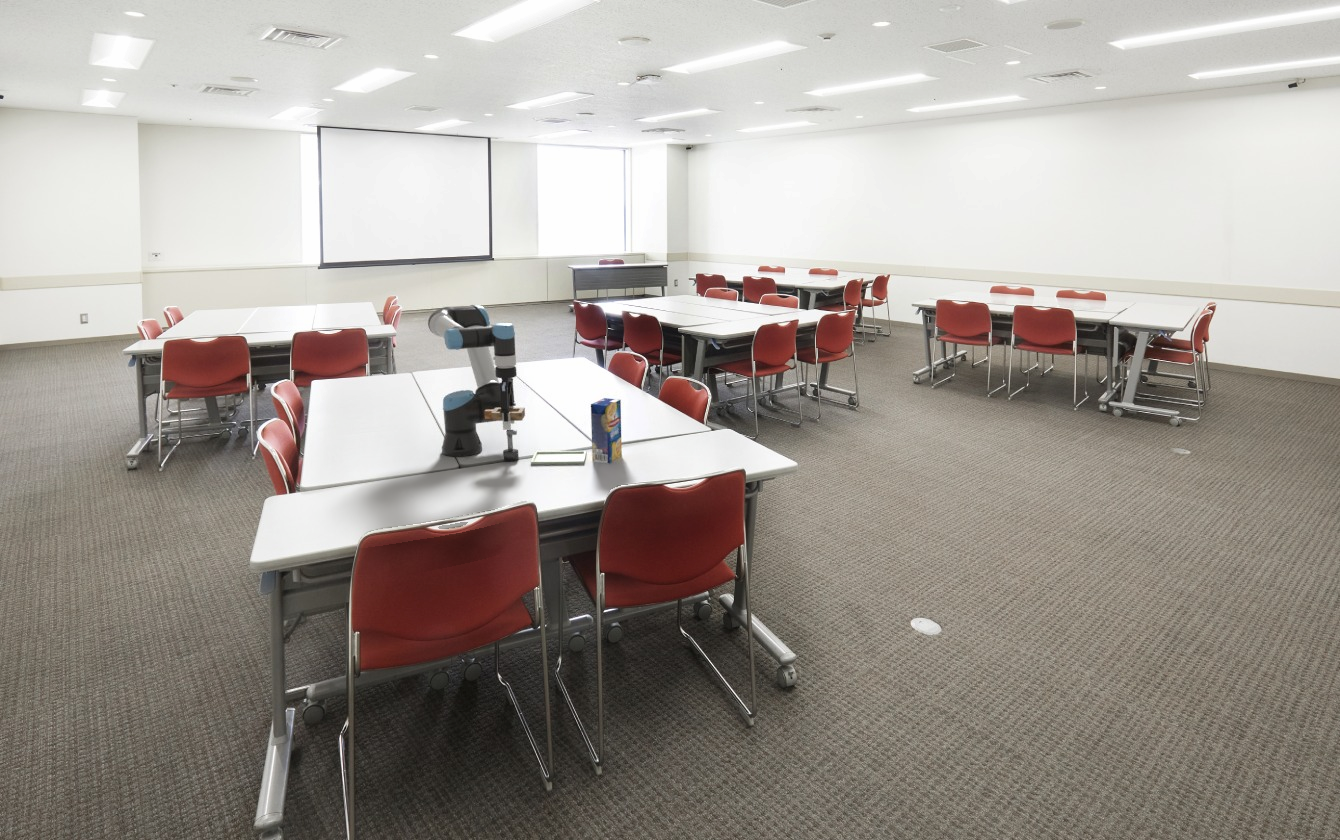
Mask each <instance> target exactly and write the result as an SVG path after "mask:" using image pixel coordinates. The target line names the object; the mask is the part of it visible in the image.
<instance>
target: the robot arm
mask: <svg viewBox="0 0 1340 840" xmlns="http://www.w3.org/2000/svg"><path fill="white" fill-rule="evenodd" d="M427 325H428V328H429V330H430V333H432V334H434V335H435V336H437V337H440V338H441V337H442V338H443V340H444V344H445V346H446V349H448V350H449V351H451V350H456V351H458V350H465V349H466V351H467V354H468V358H469V361H470V365H471V369H472V373H473V376H474V379H475V383H476V386H477V388H476V389H475V391H474V390H470V389H466V390H464V389H463V390H457V391H453V392H451V393H448V394H446V395H445V396H444V397H443V400H442V410H443V419H444V437H443V443H442V446H441V453H442V455H444V456H447V457H458V458H459V457H461V458H462V457H468V456H473V455H477V454H479V453H481V452H482V451H483V444H482V441H481V438H480V436H479V434H478V431H477V424H481V423H491V422H493V421H492V419H485V412H484V411H485V410H488V409H495V408H501V411H500V413H502V418H503V421H502V430H505V431H507V430H512V426H511V425H513V424H515V422H516V421H510V412H509V408H515V407H516V405H517V404H516V403H515V391H514V378H515V377H517V374H518V373H517V366H516V365H517V356H516V355H517V354H516V339H515V336H516V333H515V326H514V324H513V323H511V322H510V323H508V322H499V323H498V322H497V323H494V324H491V322H490V317H489V314H488V311H487V310H486V308H485V307H484V306H482V305H478V304H477V305H476V304H474V305H473V304H471V305H461V306H460V305H459V306H443V307H441V308H439V309H436V310H435V311H433V312H432V313H431V314H430V315H429V318H428V321H427ZM491 347H493V350H494V352H493V353H494V356H493V358H492V355H491V352H490V351H491V350H490V348H491ZM493 360H494V362H493ZM499 379H501V382H500V380H499Z"/></svg>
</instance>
